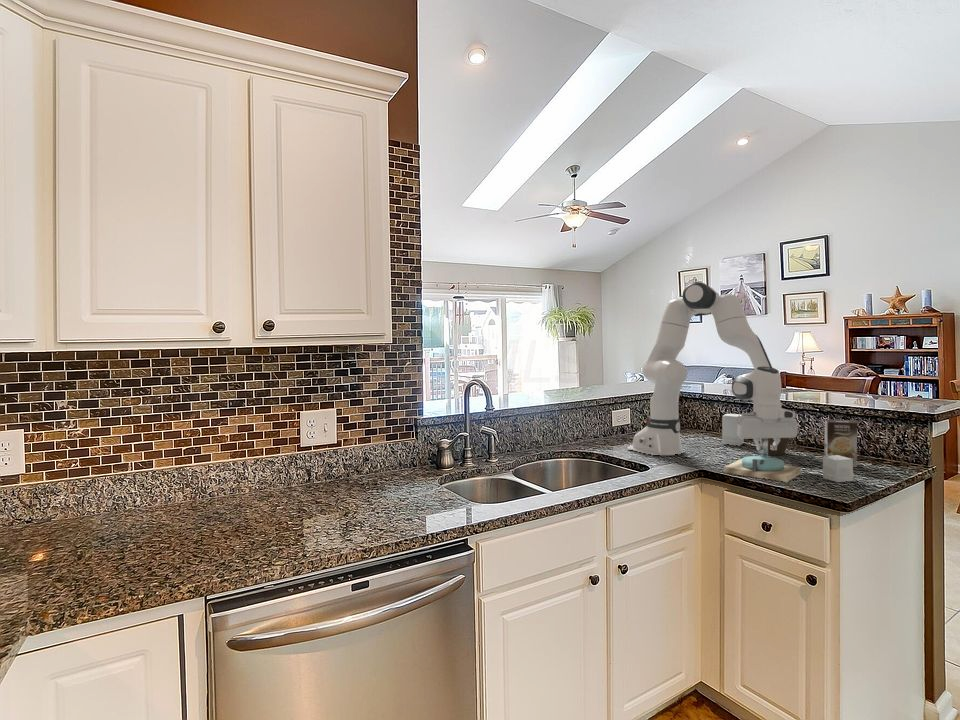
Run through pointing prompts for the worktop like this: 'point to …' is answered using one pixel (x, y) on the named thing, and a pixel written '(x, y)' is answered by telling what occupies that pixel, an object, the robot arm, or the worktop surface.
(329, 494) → the worktop surface
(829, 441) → the coffee box
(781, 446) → the plant pot
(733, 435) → the supplement box
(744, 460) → the dial
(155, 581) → the worktop surface
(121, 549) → the worktop surface
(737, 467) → the dial base
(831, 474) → the skincare box
